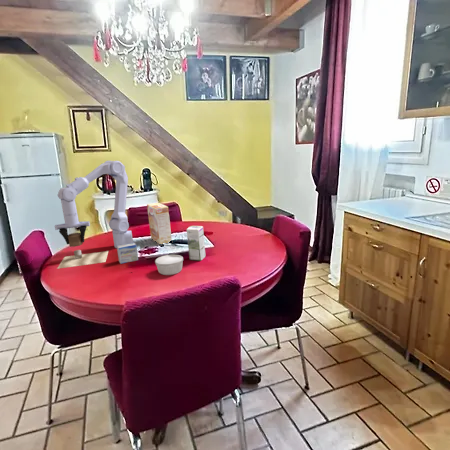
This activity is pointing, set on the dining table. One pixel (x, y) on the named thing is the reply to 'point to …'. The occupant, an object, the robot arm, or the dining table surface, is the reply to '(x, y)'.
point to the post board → (83, 259)
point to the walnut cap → (75, 239)
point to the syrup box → (196, 242)
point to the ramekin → (169, 264)
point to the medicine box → (127, 253)
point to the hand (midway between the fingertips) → (75, 242)
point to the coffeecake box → (159, 223)
